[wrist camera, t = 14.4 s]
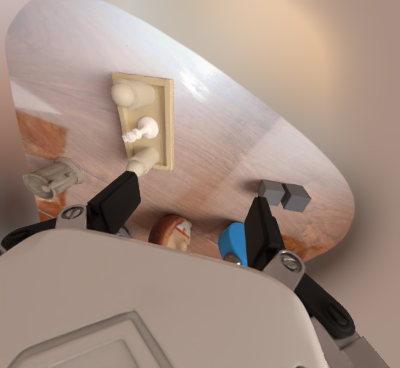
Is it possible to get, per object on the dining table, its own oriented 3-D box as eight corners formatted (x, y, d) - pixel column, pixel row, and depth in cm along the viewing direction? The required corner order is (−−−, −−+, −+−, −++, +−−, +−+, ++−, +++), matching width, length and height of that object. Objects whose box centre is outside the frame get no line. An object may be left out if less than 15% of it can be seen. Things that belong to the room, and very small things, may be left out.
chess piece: (154, 141, 37) (133, 157, 29) (136, 131, 37) (109, 144, 28) (161, 123, 35) (140, 135, 26) (141, 112, 34) (113, 120, 26)
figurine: (198, 241, 58) (189, 283, 45) (159, 232, 59) (140, 271, 46) (203, 214, 50) (194, 257, 37) (157, 205, 51) (134, 243, 38)
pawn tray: (118, 73, 31) (74, 68, 23) (174, 79, 30) (150, 77, 22) (133, 160, 43) (107, 179, 34) (174, 167, 42) (158, 189, 33)
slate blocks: (262, 179, 39) (266, 191, 35) (302, 186, 38) (311, 198, 34) (257, 192, 42) (260, 205, 37) (294, 199, 41) (302, 212, 37)
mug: (69, 185, 53) (32, 208, 43) (48, 160, 48) (1, 179, 38) (101, 179, 49) (68, 203, 39) (81, 150, 44) (37, 169, 34)
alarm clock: (218, 225, 51) (215, 269, 39) (228, 214, 48) (228, 259, 35) (250, 240, 53) (257, 288, 40) (262, 231, 49) (273, 280, 37)
